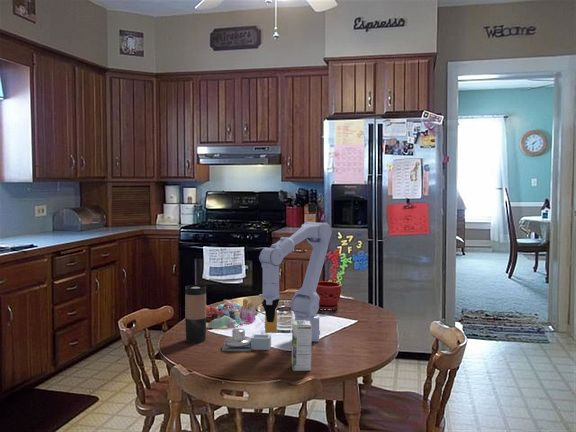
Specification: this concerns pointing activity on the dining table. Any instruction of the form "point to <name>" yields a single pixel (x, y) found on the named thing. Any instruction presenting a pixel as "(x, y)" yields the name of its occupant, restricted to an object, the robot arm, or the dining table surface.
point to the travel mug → (195, 313)
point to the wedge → (271, 325)
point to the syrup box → (301, 345)
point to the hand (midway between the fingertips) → (270, 320)
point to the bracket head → (261, 341)
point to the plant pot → (328, 294)
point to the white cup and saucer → (237, 342)
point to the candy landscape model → (229, 315)
